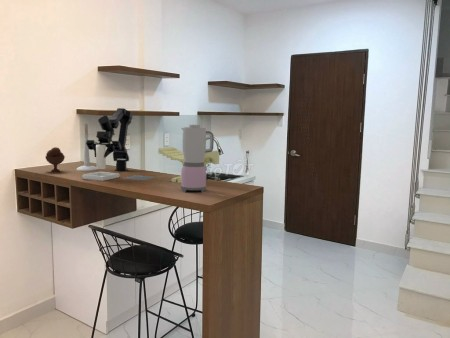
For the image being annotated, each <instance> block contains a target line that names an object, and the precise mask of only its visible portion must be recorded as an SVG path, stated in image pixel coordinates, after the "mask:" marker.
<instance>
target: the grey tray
mask: <svg viewBox="0 0 450 338" xmlns="http://www.w3.org/2000/svg"><path fill="white" fill-rule="evenodd" d="M81 176H82V177H81V180H84V181H85V180H87V181H88V180H93V181H99V182H100V181H102V182H103V181H107V180H112V179H117V178H120V173H117V172H108V171H107V172H106V171H96V172H95V171H94V172H89V173H86V174H85V173H84V174H81Z"/></svg>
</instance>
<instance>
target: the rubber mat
mask: <svg viewBox="0 0 450 338" xmlns="http://www.w3.org/2000/svg"><path fill="white" fill-rule="evenodd" d="M155 178H157V176H149V175H138V174H135V175H130V176H127V177H123V178H122V179H123V180H131V181H133V180H134V181H147V180H152V179H155Z"/></svg>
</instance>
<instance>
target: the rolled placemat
mask: <svg viewBox="0 0 450 338" xmlns="http://www.w3.org/2000/svg"><path fill="white" fill-rule="evenodd" d="M106 149H107V147H106V146H105V145H96V157H95V164H96V165H95V167H96V168H97V169H98V170H104V169H106V168H107V163H106V162H107V157H104V155H105V152H106Z"/></svg>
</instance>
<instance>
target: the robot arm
mask: <svg viewBox="0 0 450 338" xmlns="http://www.w3.org/2000/svg"><path fill="white" fill-rule="evenodd" d="M132 119H133V113H132V112H131V111H130V110H127V109H126V108H123V107H121V108H120V107H117V108H116V110H115V112H114V113H113V114H112V115H111V116H109V117H108V115H105V114H104V115H102V116H101V117H99V118H98V121H97V122H98V124H99V126H100V128H101V130H102V131H96V138H97V141H95V140H94V139H88V140H87V142H86V144H87V146H88V148H89V151H93V152H94V158H96V145H105V146H106V152H105V155H104V157H106V158H107V157H108V156H109V155H111V154H112V156H113V157H112V159H113V161H114V162H116V164H115V168H116V169H114V171H118V172H125V171H129V169H128V168H127V162H129V161H130V157H129V154H128V150H127V148H126V143H127V142H126V141H127V135H128V130H129V128H128V127H129V125H130V124H131V123H132ZM119 125H120V126H119ZM119 127H120V128H119ZM118 128H119V133H118V139H117V140H113V137H114V136H115V135H116V134H115V129H116V130H117V129H118Z"/></svg>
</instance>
